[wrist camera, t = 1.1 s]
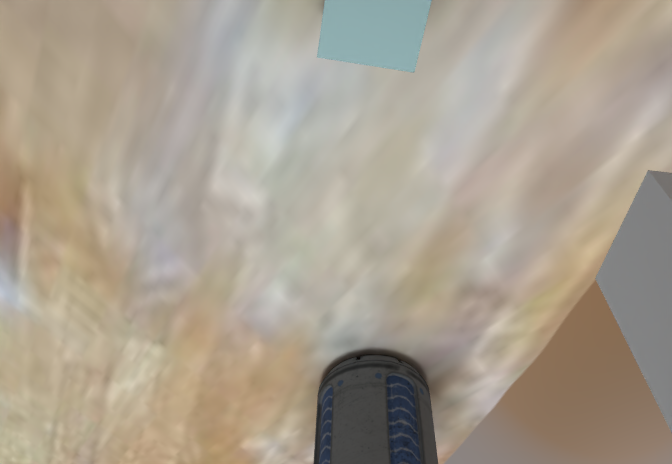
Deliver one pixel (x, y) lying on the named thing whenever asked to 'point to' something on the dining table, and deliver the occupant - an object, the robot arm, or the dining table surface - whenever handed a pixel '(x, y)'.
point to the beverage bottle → (374, 414)
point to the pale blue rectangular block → (374, 32)
